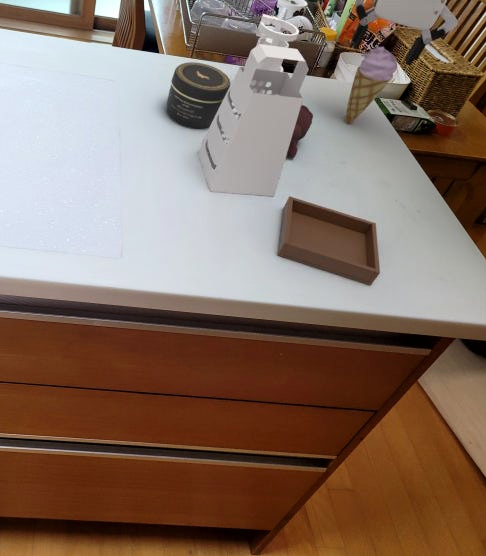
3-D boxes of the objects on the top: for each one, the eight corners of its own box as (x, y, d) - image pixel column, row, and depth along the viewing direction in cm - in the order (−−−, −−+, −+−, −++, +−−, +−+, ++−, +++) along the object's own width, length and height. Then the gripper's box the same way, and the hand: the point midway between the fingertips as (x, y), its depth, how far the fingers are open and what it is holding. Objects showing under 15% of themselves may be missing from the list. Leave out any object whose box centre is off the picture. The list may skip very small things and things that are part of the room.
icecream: (270, 80, 99) (272, 129, 90) (313, 80, 98) (320, 129, 88) (266, 114, 104) (267, 163, 95) (306, 114, 103) (312, 164, 94)
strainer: (237, 84, 110) (264, 7, 99) (271, 94, 110) (302, 18, 99) (233, 100, 105) (261, 21, 95) (269, 110, 105) (301, 32, 94)
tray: (367, 235, 83) (375, 223, 81) (370, 285, 75) (380, 273, 73) (282, 208, 84) (289, 196, 82) (277, 255, 76) (284, 242, 74)
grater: (197, 151, 91) (236, 30, 76) (256, 157, 93) (305, 40, 78) (210, 191, 84) (256, 66, 69) (274, 196, 86) (331, 76, 71)
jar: (210, 137, 95) (224, 97, 89) (156, 117, 96) (167, 77, 90) (223, 112, 101) (237, 73, 96) (173, 94, 103) (184, 55, 97)
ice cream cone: (324, 112, 108) (362, 37, 97) (348, 110, 111) (387, 36, 100) (346, 131, 104) (387, 55, 94) (370, 129, 107) (412, 54, 96)
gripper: (489, -43, 88) (426, 60, 100) (383, -73, 89) (334, 32, 101) (498, -29, 82) (431, 77, 95) (386, -61, 84) (334, 48, 96)
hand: (381, 54), depth 98 cm, fingers open, 9 cm apart
